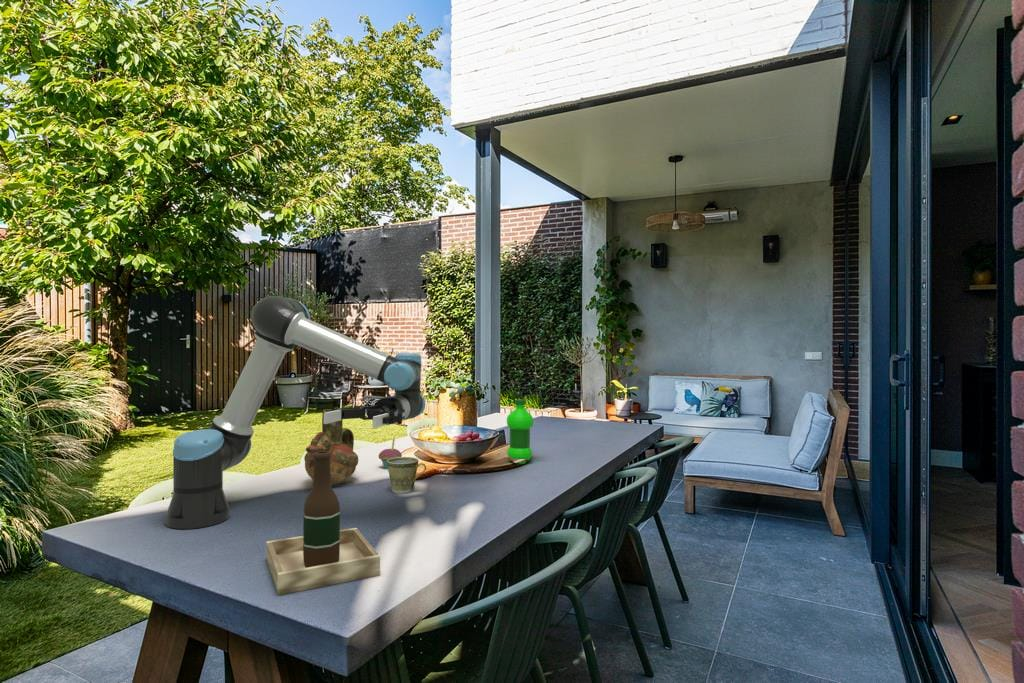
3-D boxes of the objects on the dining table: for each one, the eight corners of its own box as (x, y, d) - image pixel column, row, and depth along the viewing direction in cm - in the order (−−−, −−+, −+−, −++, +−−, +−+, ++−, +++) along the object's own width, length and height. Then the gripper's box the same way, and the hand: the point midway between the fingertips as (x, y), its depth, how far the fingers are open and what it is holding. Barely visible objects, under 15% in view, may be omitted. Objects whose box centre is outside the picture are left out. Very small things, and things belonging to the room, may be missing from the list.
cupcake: (406, 467, 218) (406, 435, 218) (390, 471, 211) (390, 438, 211) (389, 464, 222) (390, 433, 222) (373, 468, 215) (374, 436, 215)
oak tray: (278, 595, 111) (278, 574, 111) (266, 559, 128) (266, 541, 128) (379, 575, 120) (380, 556, 120) (356, 544, 138) (356, 527, 138)
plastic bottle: (537, 463, 226) (538, 400, 226) (515, 466, 220) (515, 402, 220) (523, 458, 235) (524, 398, 234) (501, 461, 229) (502, 399, 229)
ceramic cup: (381, 493, 181) (381, 462, 181) (395, 485, 191) (395, 455, 191) (419, 497, 178) (419, 465, 178) (431, 488, 188) (431, 458, 188)
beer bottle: (343, 555, 128) (344, 448, 128) (334, 569, 120) (335, 456, 120) (308, 555, 128) (309, 448, 128) (297, 569, 120) (298, 455, 120)
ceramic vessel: (284, 492, 181) (285, 413, 181) (325, 473, 206) (326, 404, 206) (335, 496, 178) (335, 416, 178) (370, 476, 203) (370, 405, 203)
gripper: (432, 426, 156) (395, 439, 136) (351, 420, 163) (304, 431, 143) (432, 399, 156) (395, 408, 136) (352, 394, 163) (305, 401, 143)
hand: (349, 420), depth 139 cm, fingers open, 13 cm apart
